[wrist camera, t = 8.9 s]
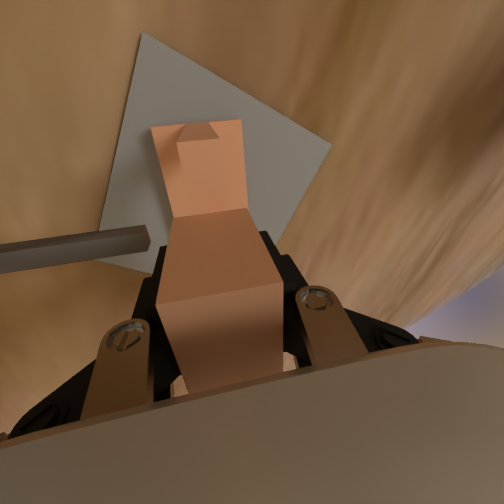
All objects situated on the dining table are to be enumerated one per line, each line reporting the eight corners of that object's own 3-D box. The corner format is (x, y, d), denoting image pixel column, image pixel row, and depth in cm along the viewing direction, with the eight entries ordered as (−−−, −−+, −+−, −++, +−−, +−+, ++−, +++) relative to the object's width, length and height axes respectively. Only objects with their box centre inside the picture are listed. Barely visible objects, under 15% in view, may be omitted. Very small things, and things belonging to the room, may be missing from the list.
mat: (143, 32, 15) (142, 31, 15) (329, 144, 20) (332, 144, 20) (93, 257, 21) (92, 259, 21) (245, 295, 27) (246, 297, 27)
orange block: (153, 126, 17) (10, 198, 4) (238, 118, 17) (359, 157, 5) (185, 252, 22) (170, 457, 9) (249, 242, 23) (317, 418, 10)
